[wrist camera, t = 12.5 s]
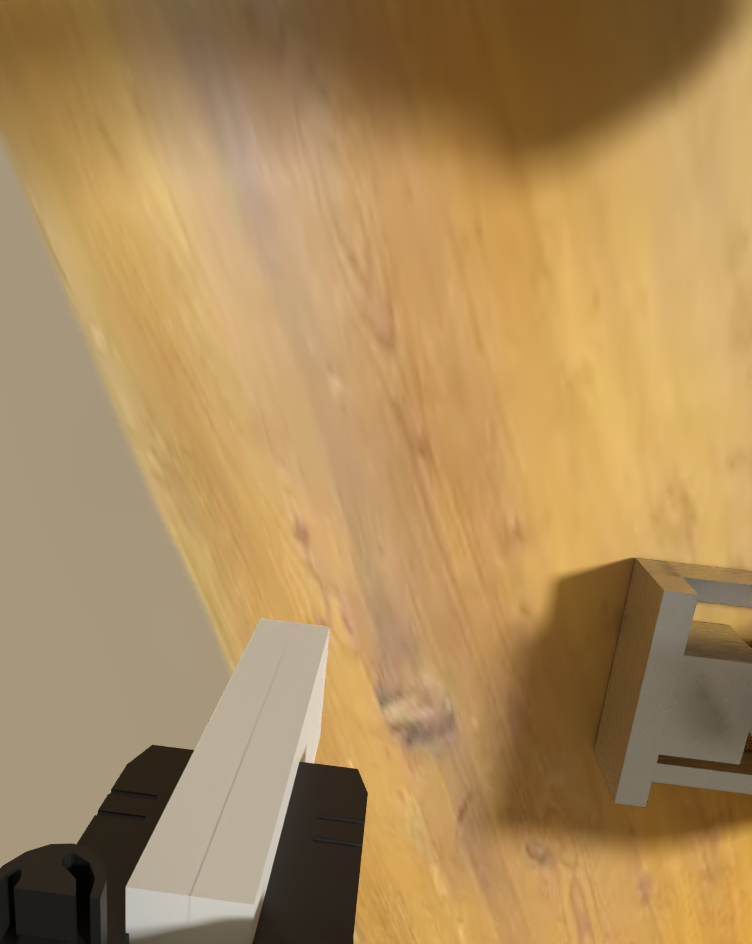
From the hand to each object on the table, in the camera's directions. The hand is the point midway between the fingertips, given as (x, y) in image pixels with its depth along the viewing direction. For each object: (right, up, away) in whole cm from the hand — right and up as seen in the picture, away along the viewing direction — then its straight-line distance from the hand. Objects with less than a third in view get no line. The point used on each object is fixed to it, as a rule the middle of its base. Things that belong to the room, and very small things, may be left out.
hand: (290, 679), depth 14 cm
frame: (+26, -9, +30) cm, 41 cm away
